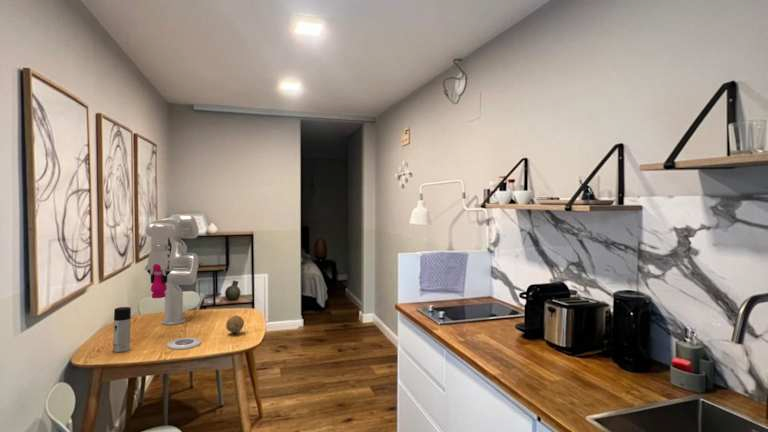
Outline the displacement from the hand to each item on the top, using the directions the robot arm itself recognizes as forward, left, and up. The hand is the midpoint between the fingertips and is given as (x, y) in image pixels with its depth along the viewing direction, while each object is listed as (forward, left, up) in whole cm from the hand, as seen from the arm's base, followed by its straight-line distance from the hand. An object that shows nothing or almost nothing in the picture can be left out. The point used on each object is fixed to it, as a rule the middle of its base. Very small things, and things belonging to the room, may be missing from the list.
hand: (159, 282), depth 210 cm
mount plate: (+8, +18, -29) cm, 35 cm away
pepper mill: (0, 0, -8) cm, 8 cm away
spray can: (+18, -7, -29) cm, 35 cm away
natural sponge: (-11, +36, -29) cm, 48 cm away
